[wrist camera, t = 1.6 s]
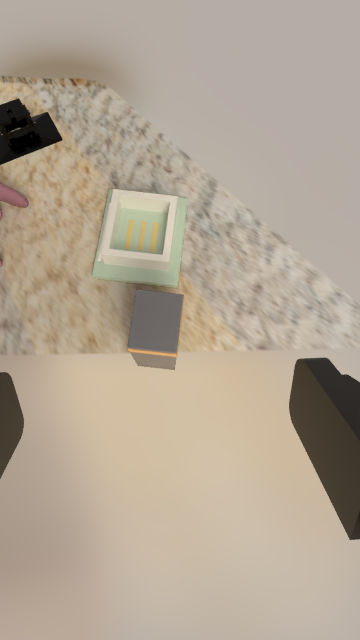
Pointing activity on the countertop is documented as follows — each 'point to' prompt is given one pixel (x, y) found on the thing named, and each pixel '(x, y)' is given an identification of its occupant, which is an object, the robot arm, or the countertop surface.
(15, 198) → the video game controller
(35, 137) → the black bracket plate
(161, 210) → the board
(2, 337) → the countertop surface
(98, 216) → the countertop surface
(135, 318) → the plug
